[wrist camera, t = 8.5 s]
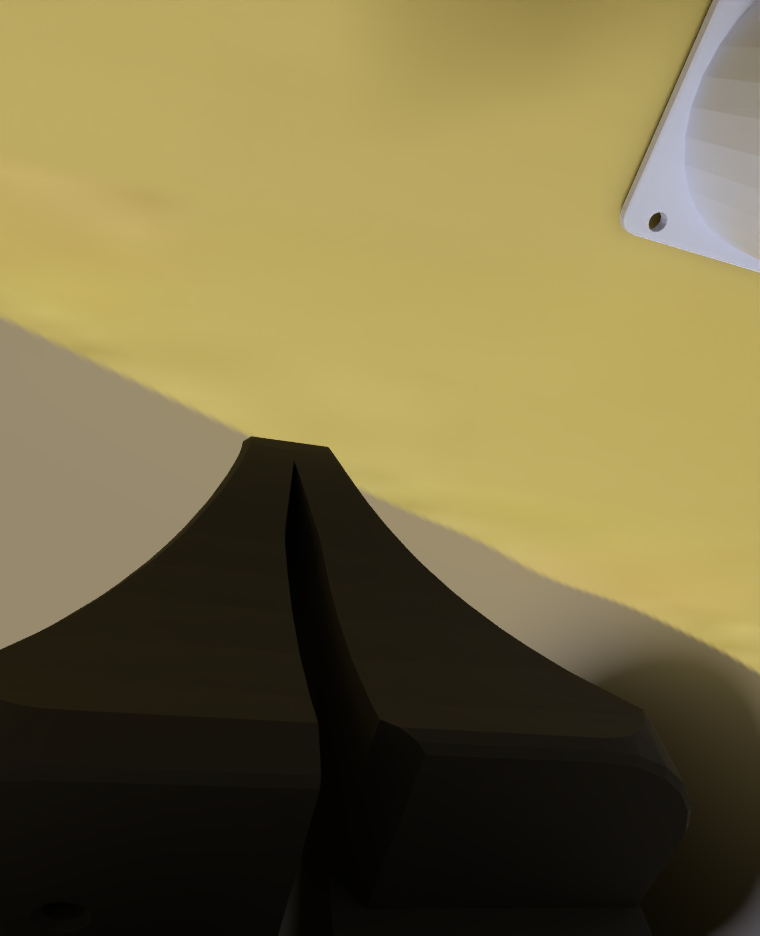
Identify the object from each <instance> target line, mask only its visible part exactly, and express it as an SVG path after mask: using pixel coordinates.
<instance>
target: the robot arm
mask: <svg viewBox="0 0 760 936" xmlns="http://www.w3.org/2000/svg"><path fill="white" fill-rule="evenodd" d="M657 212H660V214H661V220H660V222H659V224H658V225H657V226H656V227H654V228H649V225H648V224H649V220H650V218H651V217H652V215H654V214H656V213H657ZM620 224H621V226H622V227H623V229H624V230H626V231H628V232H629V233H631V234H633V235H635V236H639V237H642V238H645V239H649V240H652V241H655V242H659V243H662V244H665V245H669V246H672V247H675V248H679V249H682V250H685V251H689V252H692V253H696V254H699V255H702V256H706V257H709V258H712V259H716V260H719V261H722V262H726V263H729V264H732V265H736V266H739V267H742V268H746V269H749V270H752V271H756V272H759V273H760V0H713V1H712V3H711V6H710V8H709V10H708V13H707V15H706V17H705V19H704V22H703V24H702V26H701V29H700V31H699V33H698V35H697V38H696V40H695V42H694V45H693V47H692V49H691V51H690V54H689V56H688V58H687V61H686V63H685V65H684V67H683V70H682V72H681V74H680V77H679V79H678V81H677V83H676V86H675V88H674V90H673V93H672V95H671V97H670V99H669V102H668V104H667V106H666V109H665V111H664V113H663V115H662V118H661V120H660V122H659V125H658V127H657V129H656V131H655V134H654V136H653V138H652V141H651V143H650V145H649V147H648V150H647V152H646V154H645V157H644V159H643V161H642V163H641V166H640V168H639V170H638V173H637V175H636V177H635V179H634V182H633V184H632V186H631V189H630V191H629V193H628V195H627V198H626V200H625V202H624V205H623V207H622V209H621V213H620ZM690 810H691V801H690V798H689V796H688V793H687V790H686V787H685V785H684V782H683V781H682V779H681V777H680V775H679V773H678V771H677V770H676V768H675V766H674V764H673V762H672V760H671V759H670V757H669V755H668V753H667V751H666V749H665V747H664V746H663V744H662V742H661V740H660V738H659V737H658V735H657V733H656V731H655V729H654V727H653V726H652V724H651V722H650V720H649V719H648V717H647V716H646V714H645V712H644V711H643V709H641V708H639V707H637V706H635V705H633V704H631V703H629V702H627V701H625V700H623V699H621V698H619V697H617V696H615V695H614V694H612V693H610V692H608V691H605V690H604V689H602V688H600V687H598V686H596V685H594V684H592V683H590V682H588V681H586V680H584V679H582V678H580V677H579V676H577V675H575V674H573V673H571V672H569V671H567V670H566V669H564V668H562V667H561V666H559V665H557V664H556V663H554V662H552V661H550V660H549V659H547V658H546V657H544V656H542V655H541V654H539V653H538V652H536V651H534V650H533V649H531V648H529V647H528V646H526V645H525V644H523V643H522V642H520V641H519V640H517V639H516V638H514V637H513V636H511V635H510V634H508V633H506V632H505V631H504V630H502V629H501V628H499V627H498V626H497V625H495V624H494V623H493V622H491V621H490V620H489V619H487V618H486V617H485V616H483V615H482V614H481V613H479V612H478V611H477V610H475V609H474V608H472V607H471V606H470V605H468V604H467V603H466V602H465V601H464V600H462V599H461V598H460V597H459V596H457V595H456V594H455V593H454V592H453V591H451V590H450V589H449V588H448V587H447V586H446V585H445V584H444V583H442V582H441V581H440V580H439V579H438V578H437V577H436V576H435V575H434V574H432V573H431V572H430V571H429V570H428V569H427V568H426V567H425V566H424V565H423V564H422V563H421V562H420V561H418V559H416V557H415V556H413V554H412V553H411V552H410V551H409V550H408V549H407V548H406V547H405V546H404V545H403V544H402V543H401V541H400V540H399V539H398V538H397V537H396V536H395V535H394V534H393V533H392V532H391V530H390V529H389V528H388V527H387V526H386V525H385V524H384V522H383V521H382V520H381V519H380V517H378V515H377V514H376V513H375V511H374V510H373V509H372V507H371V506H370V505H369V504H368V503H367V501H366V500H365V498H364V497H363V496H362V494H361V493H360V491H359V490H358V489H357V487H356V486H355V484H354V483H353V482H352V480H351V479H350V477H349V476H348V474H347V473H346V472H345V470H344V469H343V467H342V466H341V464H340V463H339V461H338V460H337V458H336V457H335V456H334V454H333V453H332V451H331V450H330V449H329V447H324V446H317V445H310V444H303V443H295V442H288V441H281V440H274V439H266V438H259V437H252V436H251V437H250V438H248V439H246V440H245V441H243V444H242V448H241V451H240V453H239V456H238V457H237V459H236V461H235V463H234V464H233V466H232V468H231V469H230V471H229V473H228V474H227V476H226V477H225V478H224V480H223V481H222V483H221V484H220V485H219V487H218V488H217V489H216V491H215V492H214V494H213V495H212V496H211V498H210V499H209V500H208V501H207V503H206V504H205V505H204V506H203V507H202V508H201V509H200V510H199V512H198V513H197V514H196V515H195V516H194V517H193V518H192V520H190V522H189V523H188V524H187V525H186V526H185V527H184V528H183V529H182V531H180V532H179V533H178V534H177V535H176V536H175V537H174V538H173V539H172V540H171V541H170V542H169V543H168V544H167V545H166V546H165V547H163V548H162V549H161V550H160V551H159V552H158V553H157V554H156V555H154V556H153V557H152V558H151V559H150V560H149V561H147V562H146V563H145V564H144V565H142V566H141V567H140V568H139V569H137V570H136V571H135V572H133V573H132V574H131V575H129V576H128V577H127V578H126V579H124V580H123V581H122V582H120V583H119V584H117V585H116V586H115V587H113V588H112V589H110V590H109V591H107V592H106V593H105V594H103V595H102V596H100V597H99V598H97V599H95V600H94V601H92V602H90V603H89V604H87V605H85V606H84V607H82V608H80V609H79V610H77V611H75V612H74V613H72V614H70V615H69V616H67V617H65V618H64V619H62V620H60V621H59V622H57V623H55V624H53V625H52V626H50V627H48V628H46V629H44V630H42V631H40V632H38V633H36V634H34V635H32V636H29V637H27V638H25V639H23V640H21V641H18V642H16V643H14V644H12V645H10V646H7V647H5V648H3V649H1V650H0V936H652V934H651V931H650V929H649V926H648V924H647V922H646V919H645V917H644V914H643V912H642V910H641V907H640V905H639V901H640V900H641V898H642V897H643V896H644V894H645V893H646V891H647V890H648V889H649V887H650V886H651V884H652V883H653V882H654V880H655V879H656V878H657V876H658V875H659V873H660V872H661V871H662V869H663V868H664V867H665V865H666V864H667V862H668V861H669V860H670V858H671V857H672V856H673V854H674V853H675V851H676V849H677V847H678V845H679V843H680V841H681V840H682V838H683V836H684V834H685V832H686V830H687V827H688V825H689V818H690Z"/></svg>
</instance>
